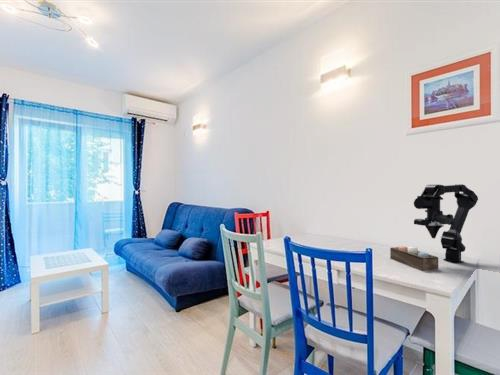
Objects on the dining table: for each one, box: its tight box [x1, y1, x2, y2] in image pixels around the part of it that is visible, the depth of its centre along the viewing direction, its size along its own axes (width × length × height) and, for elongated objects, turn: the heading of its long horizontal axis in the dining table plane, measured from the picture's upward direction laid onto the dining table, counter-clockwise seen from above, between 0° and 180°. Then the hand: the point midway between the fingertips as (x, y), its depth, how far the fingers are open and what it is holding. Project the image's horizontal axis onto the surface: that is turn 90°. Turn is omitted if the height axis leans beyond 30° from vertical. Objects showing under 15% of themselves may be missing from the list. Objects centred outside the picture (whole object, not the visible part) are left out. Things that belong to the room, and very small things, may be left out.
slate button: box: [418, 251, 430, 257], centre depth 130 cm, size 4×4×5 cm
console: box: [389, 246, 439, 271], centre depth 137 cm, size 9×22×6 cm, turn 9°
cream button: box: [407, 246, 419, 254], centre depth 137 cm, size 4×4×5 cm
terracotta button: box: [397, 245, 408, 250], centre depth 144 cm, size 4×4×5 cm
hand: (433, 238), depth 138 cm, fingers closed
